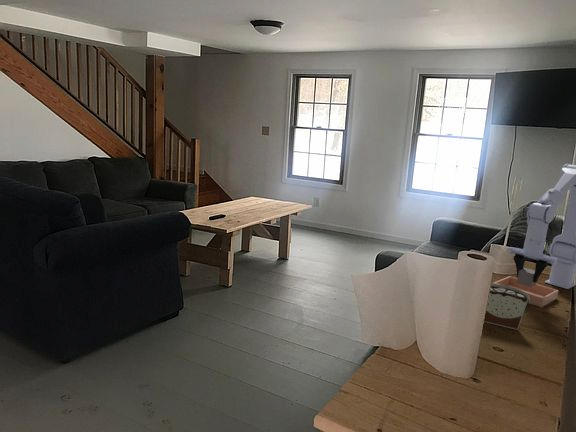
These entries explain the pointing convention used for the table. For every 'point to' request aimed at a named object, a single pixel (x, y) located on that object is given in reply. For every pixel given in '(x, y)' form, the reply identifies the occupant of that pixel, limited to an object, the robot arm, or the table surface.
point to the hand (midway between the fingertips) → (526, 279)
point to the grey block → (526, 277)
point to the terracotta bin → (532, 291)
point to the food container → (506, 306)
